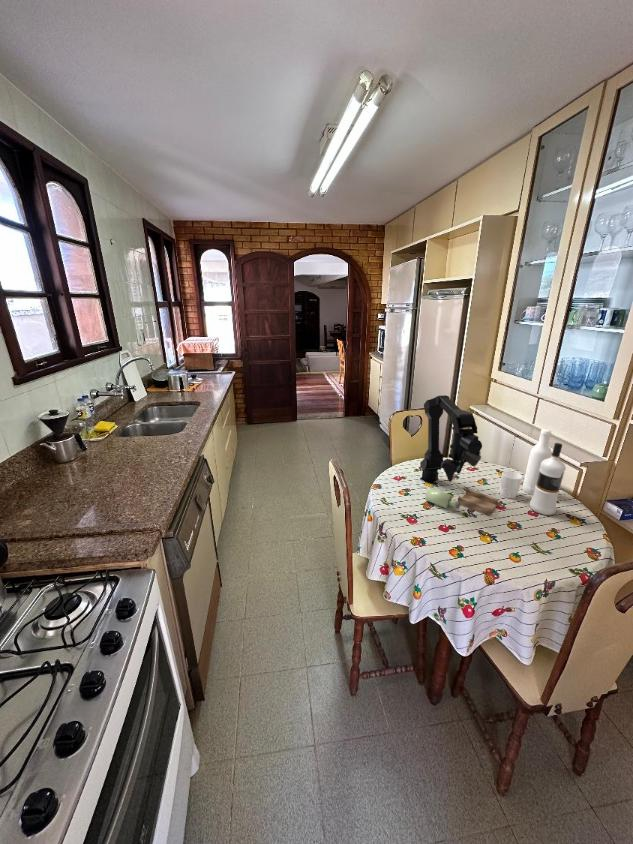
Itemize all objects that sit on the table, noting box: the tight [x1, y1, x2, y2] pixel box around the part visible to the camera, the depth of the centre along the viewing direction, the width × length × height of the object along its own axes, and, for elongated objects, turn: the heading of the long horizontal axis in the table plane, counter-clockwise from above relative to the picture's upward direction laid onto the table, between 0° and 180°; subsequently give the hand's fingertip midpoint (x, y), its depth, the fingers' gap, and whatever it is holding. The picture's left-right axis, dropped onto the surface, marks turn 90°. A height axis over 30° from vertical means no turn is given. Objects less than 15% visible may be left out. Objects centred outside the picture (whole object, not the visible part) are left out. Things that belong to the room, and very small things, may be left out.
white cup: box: [499, 470, 523, 499], centre depth 154 cm, size 8×8×10 cm
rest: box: [456, 488, 499, 517], centre depth 148 cm, size 13×10×3 cm
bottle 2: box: [521, 428, 553, 496], centre depth 154 cm, size 8×8×30 cm
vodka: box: [529, 442, 567, 516], centre depth 140 cm, size 9×9×30 cm
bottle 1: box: [424, 486, 461, 510], centre depth 146 cm, size 13×6×6 cm, turn 46°
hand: (454, 477), depth 145 cm, fingers open, 9 cm apart
